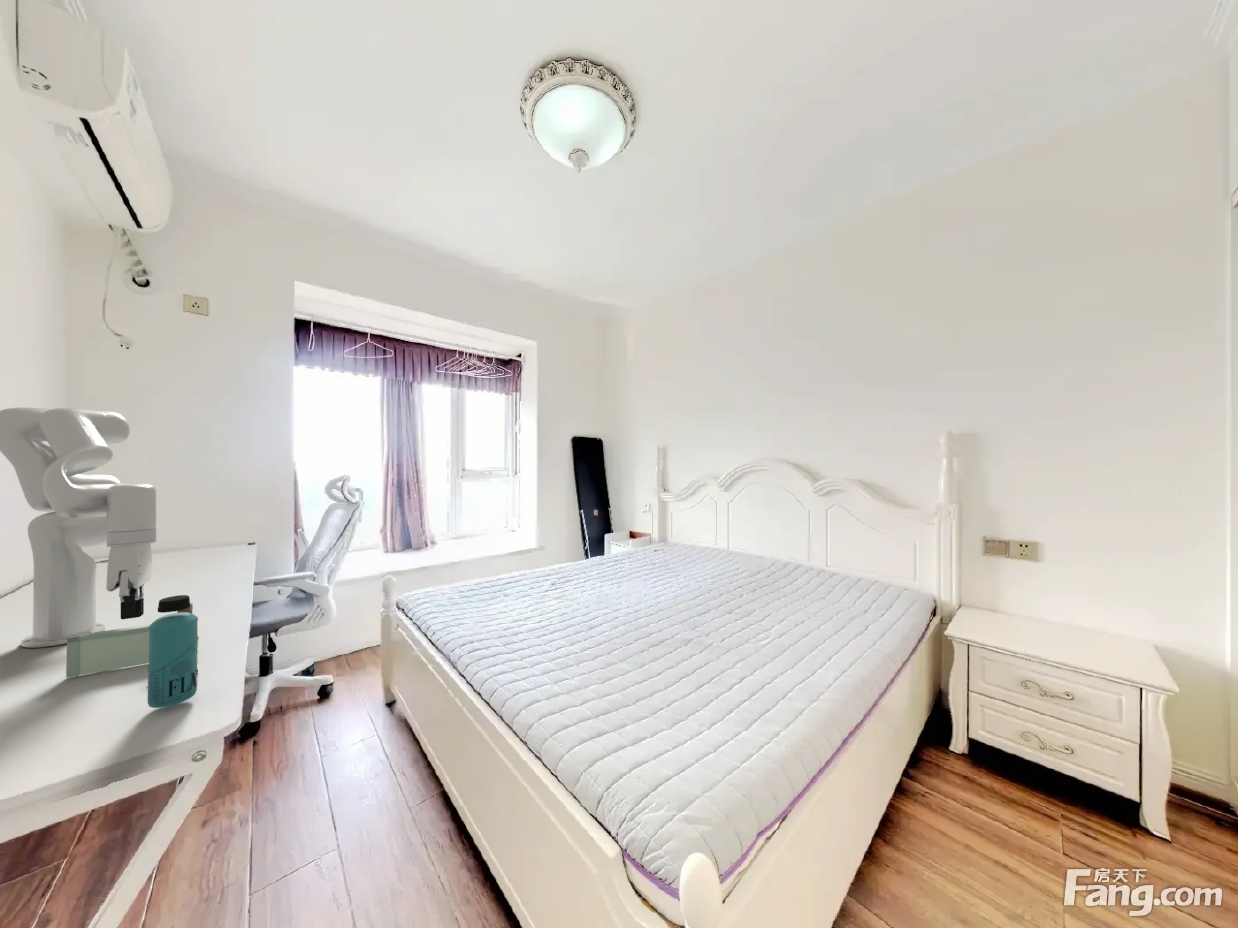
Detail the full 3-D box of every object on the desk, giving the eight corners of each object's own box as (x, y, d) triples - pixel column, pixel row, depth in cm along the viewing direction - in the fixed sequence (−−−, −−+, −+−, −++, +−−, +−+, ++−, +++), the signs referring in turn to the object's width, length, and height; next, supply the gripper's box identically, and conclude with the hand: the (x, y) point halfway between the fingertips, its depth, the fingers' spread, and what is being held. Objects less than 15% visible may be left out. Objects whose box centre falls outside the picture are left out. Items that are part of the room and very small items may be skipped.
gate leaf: (170, 657, 95) (170, 621, 95) (167, 660, 93) (168, 624, 93) (70, 674, 87) (70, 635, 87) (66, 677, 85) (66, 638, 85)
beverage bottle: (163, 719, 73) (166, 604, 73) (135, 714, 74) (137, 601, 74) (207, 699, 79) (209, 593, 79) (180, 694, 81) (182, 590, 81)
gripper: (121, 535, 101) (121, 611, 101) (92, 544, 89) (92, 631, 89) (165, 532, 106) (165, 605, 105) (144, 540, 93) (144, 623, 93)
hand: (132, 617), depth 97 cm, fingers closed
